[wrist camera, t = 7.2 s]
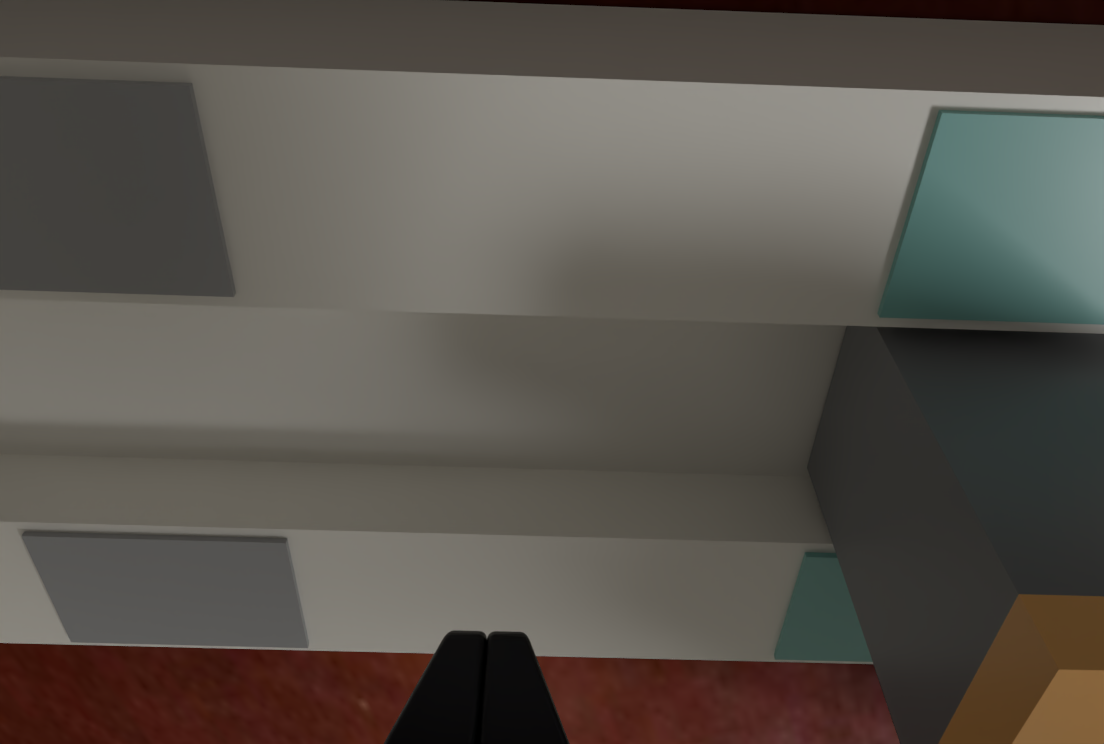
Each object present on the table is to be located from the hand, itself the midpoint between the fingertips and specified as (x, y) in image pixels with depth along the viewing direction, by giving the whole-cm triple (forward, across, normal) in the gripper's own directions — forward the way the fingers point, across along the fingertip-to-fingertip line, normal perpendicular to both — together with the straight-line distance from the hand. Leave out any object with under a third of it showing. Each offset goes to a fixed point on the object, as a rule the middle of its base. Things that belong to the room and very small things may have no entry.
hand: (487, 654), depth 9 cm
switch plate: (+7, -1, 0) cm, 7 cm away
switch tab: (+5, -7, 0) cm, 8 cm away
